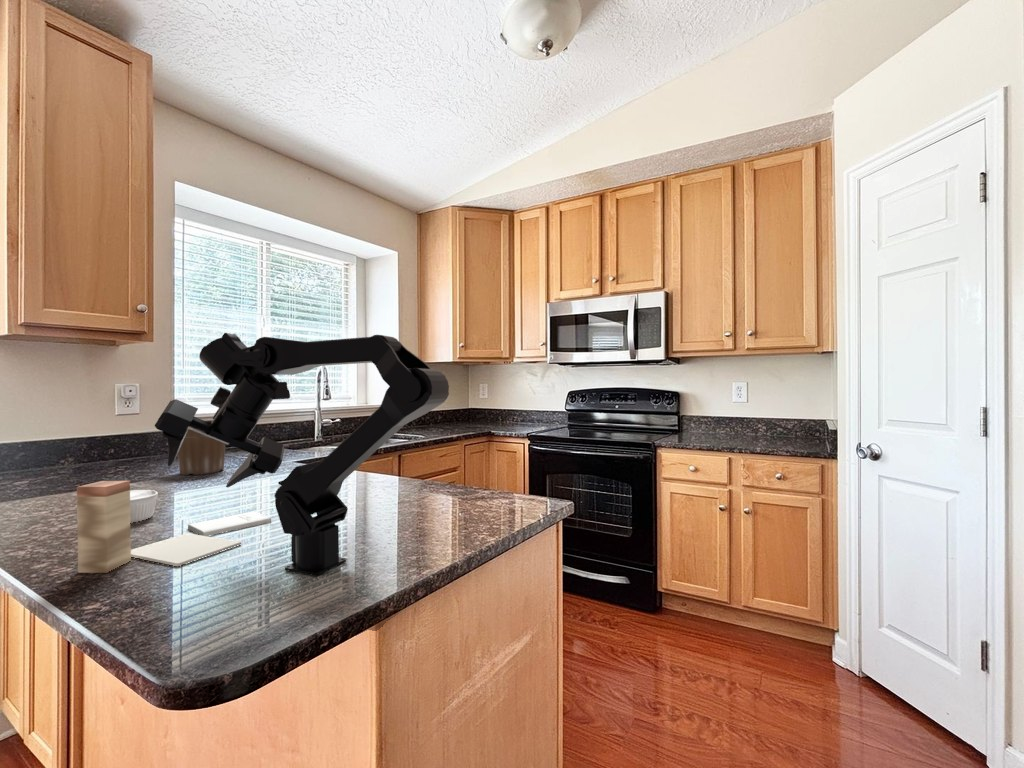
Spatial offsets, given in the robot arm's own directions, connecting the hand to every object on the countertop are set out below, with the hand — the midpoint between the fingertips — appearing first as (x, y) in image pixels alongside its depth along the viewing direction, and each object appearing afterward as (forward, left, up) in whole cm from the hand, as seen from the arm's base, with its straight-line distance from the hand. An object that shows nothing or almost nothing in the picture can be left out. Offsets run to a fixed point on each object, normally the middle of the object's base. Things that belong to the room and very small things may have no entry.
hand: (199, 475), depth 82 cm
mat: (+5, 0, -13) cm, 14 cm away
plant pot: (+75, -53, -13) cm, 92 cm away
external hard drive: (+11, -14, -14) cm, 22 cm away
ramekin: (+36, -9, -13) cm, 39 cm away
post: (+9, +9, -13) cm, 18 cm away
